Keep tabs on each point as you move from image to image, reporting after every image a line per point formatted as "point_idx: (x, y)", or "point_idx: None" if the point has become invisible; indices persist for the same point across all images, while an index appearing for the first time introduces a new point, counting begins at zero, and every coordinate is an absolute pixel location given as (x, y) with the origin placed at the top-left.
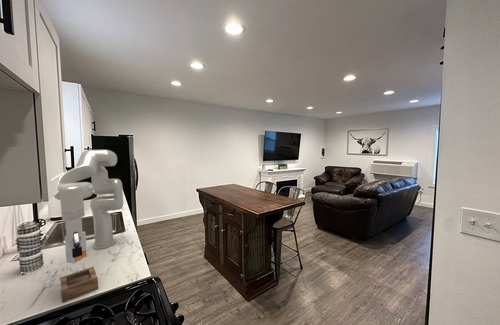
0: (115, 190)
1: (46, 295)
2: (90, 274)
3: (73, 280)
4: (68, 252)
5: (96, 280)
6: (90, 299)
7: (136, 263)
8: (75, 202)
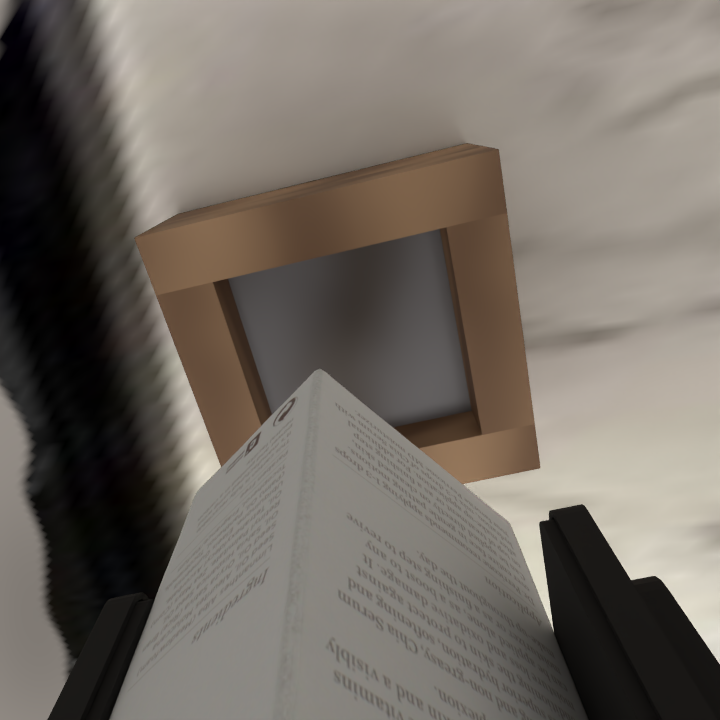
0: None
1: (413, 16)
2: None
3: (423, 282)
4: (214, 597)
5: None
6: (126, 420)
7: None
8: None
